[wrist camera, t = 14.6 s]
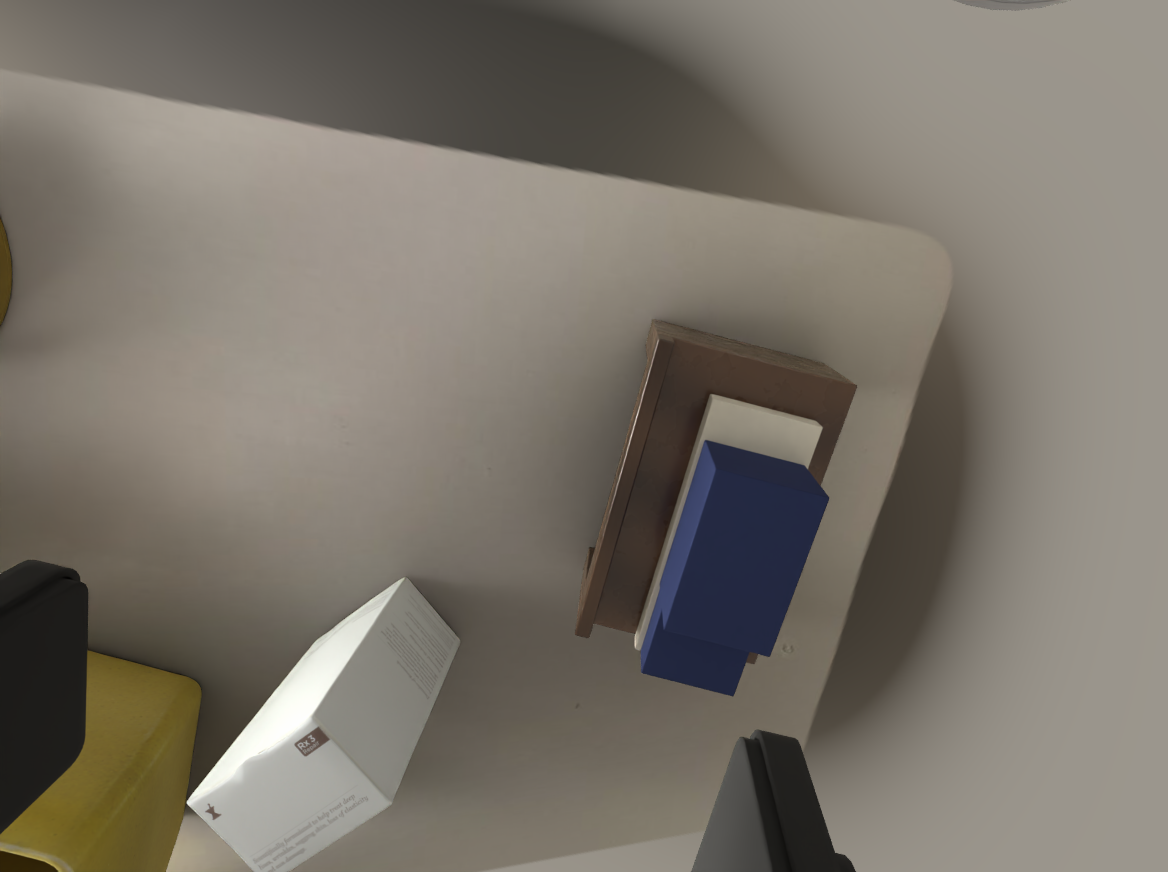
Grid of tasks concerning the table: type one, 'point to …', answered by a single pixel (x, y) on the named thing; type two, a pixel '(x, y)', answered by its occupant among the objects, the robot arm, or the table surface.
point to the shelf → (689, 452)
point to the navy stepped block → (732, 546)
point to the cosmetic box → (331, 734)
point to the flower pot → (115, 778)
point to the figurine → (4, 273)
